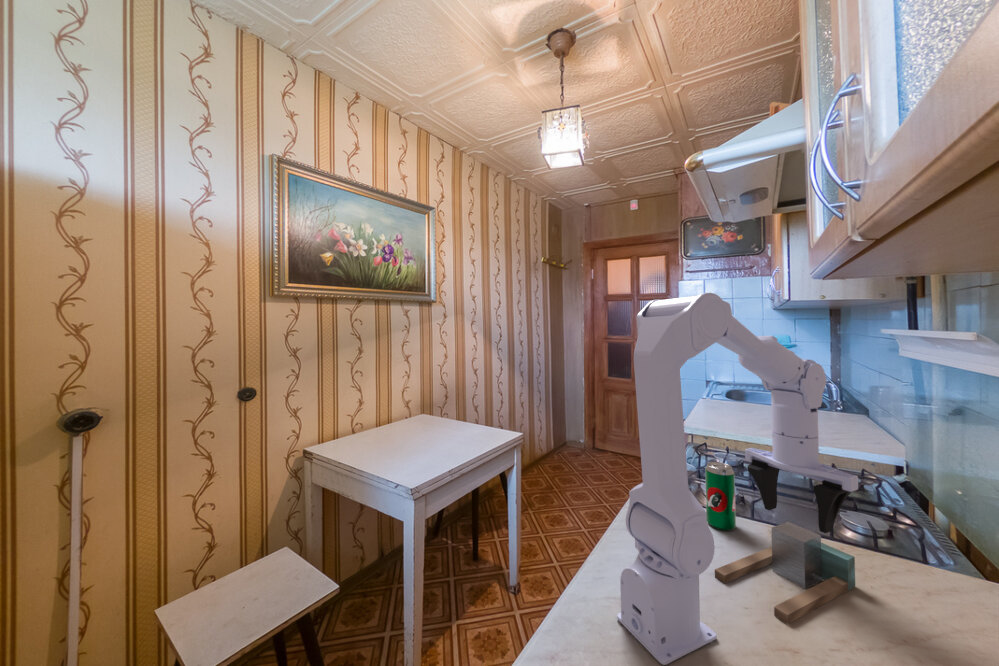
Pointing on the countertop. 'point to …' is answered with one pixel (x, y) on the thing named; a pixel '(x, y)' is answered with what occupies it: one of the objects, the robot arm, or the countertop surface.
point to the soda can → (720, 496)
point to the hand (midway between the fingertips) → (796, 518)
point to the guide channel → (838, 581)
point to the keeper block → (796, 554)
